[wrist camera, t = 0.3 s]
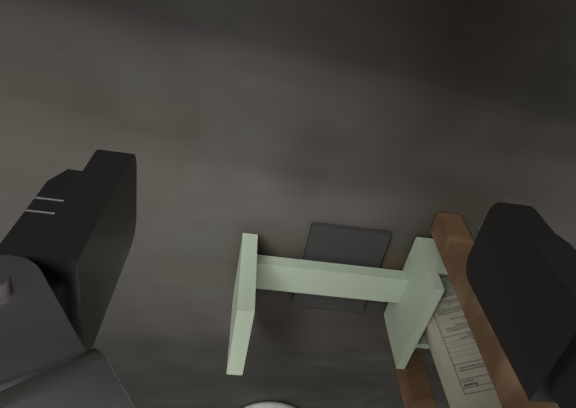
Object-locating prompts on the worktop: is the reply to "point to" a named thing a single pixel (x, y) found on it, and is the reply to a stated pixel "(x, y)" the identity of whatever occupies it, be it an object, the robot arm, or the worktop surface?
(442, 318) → the skincare box
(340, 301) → the pad
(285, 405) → the milk bottle
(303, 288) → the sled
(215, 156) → the worktop surface
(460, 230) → the tunnel
